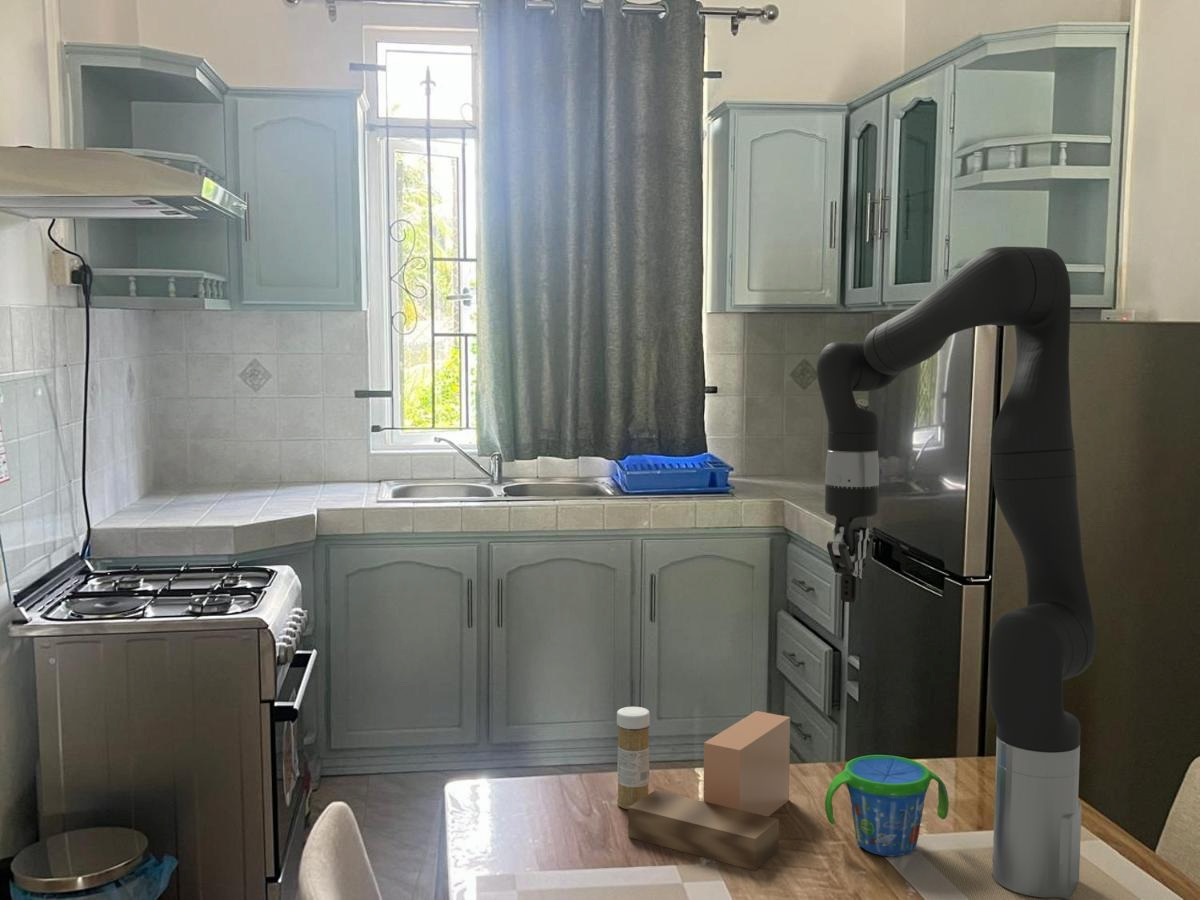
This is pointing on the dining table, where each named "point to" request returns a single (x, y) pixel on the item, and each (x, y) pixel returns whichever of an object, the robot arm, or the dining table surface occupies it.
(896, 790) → the snack cup
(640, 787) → the sprinkles bottle
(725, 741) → the block
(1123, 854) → the dining table surface
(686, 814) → the brown wooden bar
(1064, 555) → the robot arm
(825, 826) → the dining table surface
